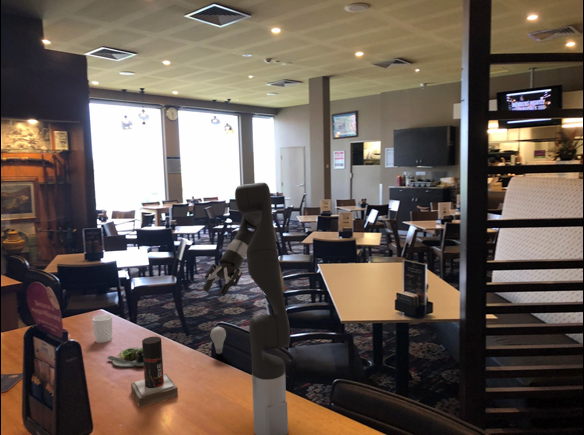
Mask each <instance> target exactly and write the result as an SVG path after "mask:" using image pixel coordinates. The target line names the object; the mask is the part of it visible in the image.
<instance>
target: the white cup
mask: <svg viewBox="0 0 584 435" xmlns="http://www.w3.org/2000/svg"><path fill="white" fill-rule="evenodd" d="M92 327H93V336H94V338H95V339H94V341H95V342H96V343H99V344H100V343H101V344H102V343H107V342H110V341H111V340H113V316H112V315H111V314H100V315H97V316H94V317H93V318H92Z"/></svg>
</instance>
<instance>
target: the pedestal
mask: <svg viewBox="0 0 584 435" xmlns="http://www.w3.org/2000/svg"><path fill="white" fill-rule="evenodd" d="M163 376H164V383H163V385H161V386H160V387H157V388H147V387H146V386H145V378H144V379H141V380H137V381H134V382H131V383H130V388H131V389H130V390H131V391H130V392H131V394H132V395H133V397H134V399H135V401H136V403H137V405H138V406H139V408H141V409H142V408H145V407H148V406H150V405H153V404H154V405H155V404H157V403H161V402H164V401H168V400H171V399H174V398H177V397H178V396H179V391H178V387H177V385H176V383H175V382H174V381H173V380H172V378H171V377H170V376H169V374H167V373H163Z"/></svg>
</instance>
